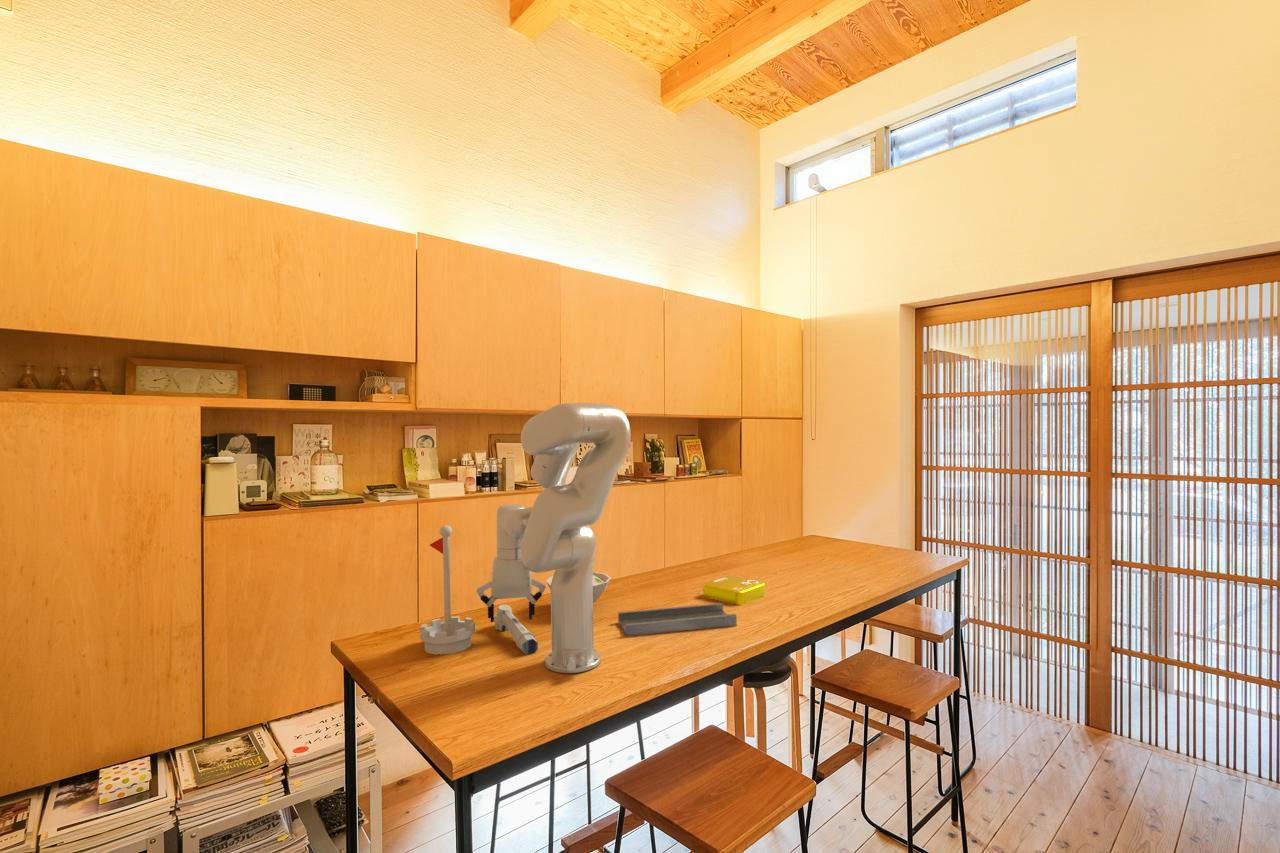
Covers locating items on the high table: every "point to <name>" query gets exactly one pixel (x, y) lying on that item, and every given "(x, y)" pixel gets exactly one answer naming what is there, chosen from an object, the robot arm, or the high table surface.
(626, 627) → the pipe channel
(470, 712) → the high table surface
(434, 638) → the flag stand
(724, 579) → the element tile
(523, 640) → the grey elongated piece
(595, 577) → the bowl
